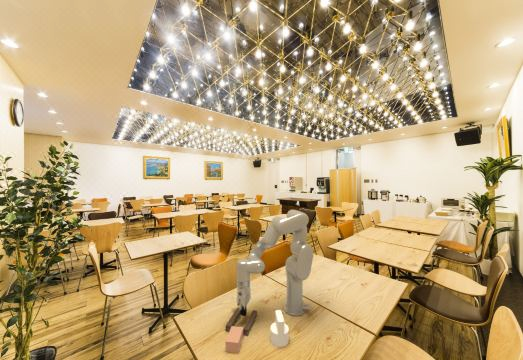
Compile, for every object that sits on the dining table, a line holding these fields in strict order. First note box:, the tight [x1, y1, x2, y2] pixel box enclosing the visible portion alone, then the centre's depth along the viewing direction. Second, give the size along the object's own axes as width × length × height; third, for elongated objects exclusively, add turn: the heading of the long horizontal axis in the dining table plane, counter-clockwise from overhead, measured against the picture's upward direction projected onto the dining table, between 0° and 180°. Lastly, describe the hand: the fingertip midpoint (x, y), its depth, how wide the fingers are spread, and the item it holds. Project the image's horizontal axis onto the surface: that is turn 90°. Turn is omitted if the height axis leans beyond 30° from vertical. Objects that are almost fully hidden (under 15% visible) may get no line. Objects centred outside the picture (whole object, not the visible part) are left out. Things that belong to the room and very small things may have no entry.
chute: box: [225, 306, 258, 337], centre depth 115 cm, size 12×16×3 cm
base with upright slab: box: [269, 309, 290, 348], centre depth 103 cm, size 9×9×12 cm
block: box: [225, 325, 244, 354], centre depth 101 cm, size 6×10×5 cm, turn 172°
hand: (243, 314), depth 117 cm, fingers closed
